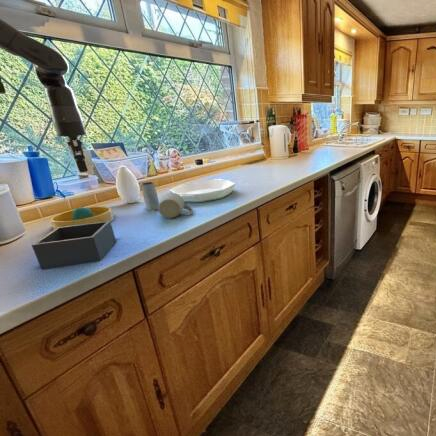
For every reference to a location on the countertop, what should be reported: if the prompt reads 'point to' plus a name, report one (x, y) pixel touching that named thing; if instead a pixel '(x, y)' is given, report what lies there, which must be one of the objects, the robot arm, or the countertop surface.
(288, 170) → the countertop surface
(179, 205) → the ceramic mug
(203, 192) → the white oval serving dish
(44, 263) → the bin
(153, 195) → the grey cylinder
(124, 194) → the sauce bottle
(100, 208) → the bowl
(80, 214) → the toy ball
